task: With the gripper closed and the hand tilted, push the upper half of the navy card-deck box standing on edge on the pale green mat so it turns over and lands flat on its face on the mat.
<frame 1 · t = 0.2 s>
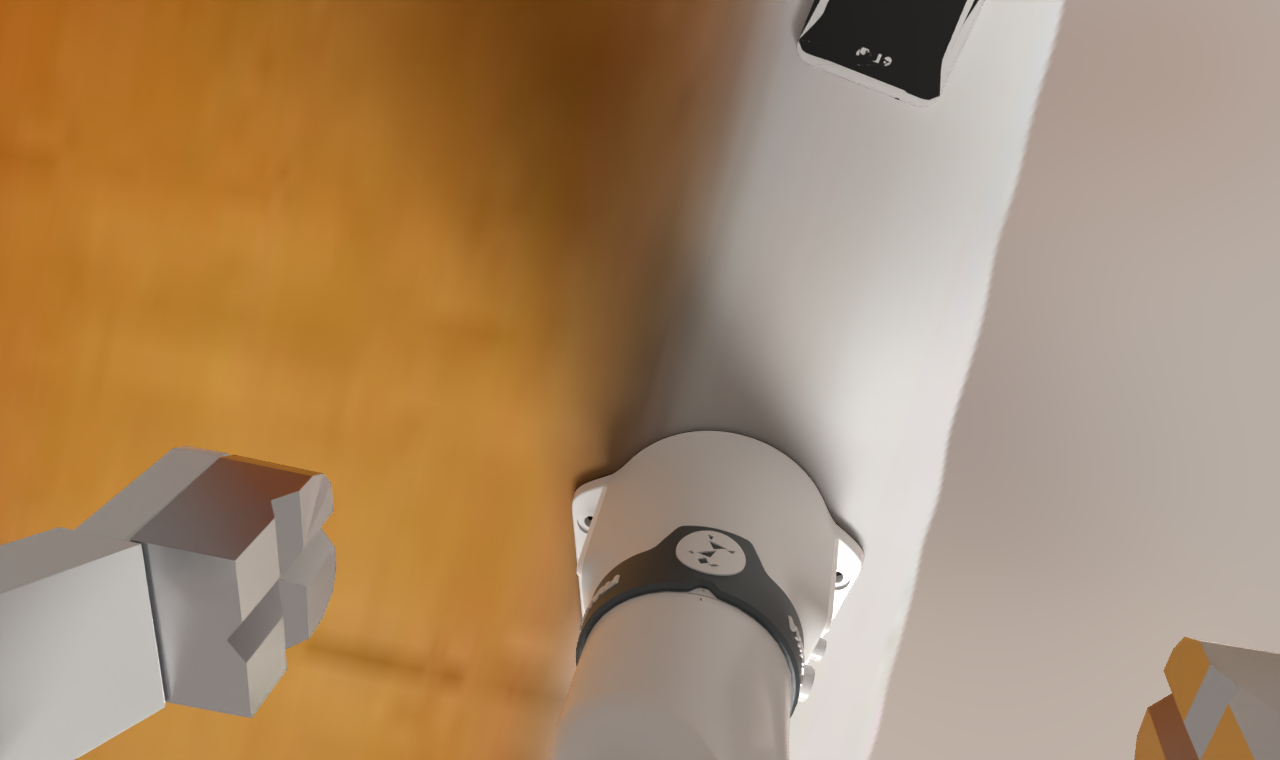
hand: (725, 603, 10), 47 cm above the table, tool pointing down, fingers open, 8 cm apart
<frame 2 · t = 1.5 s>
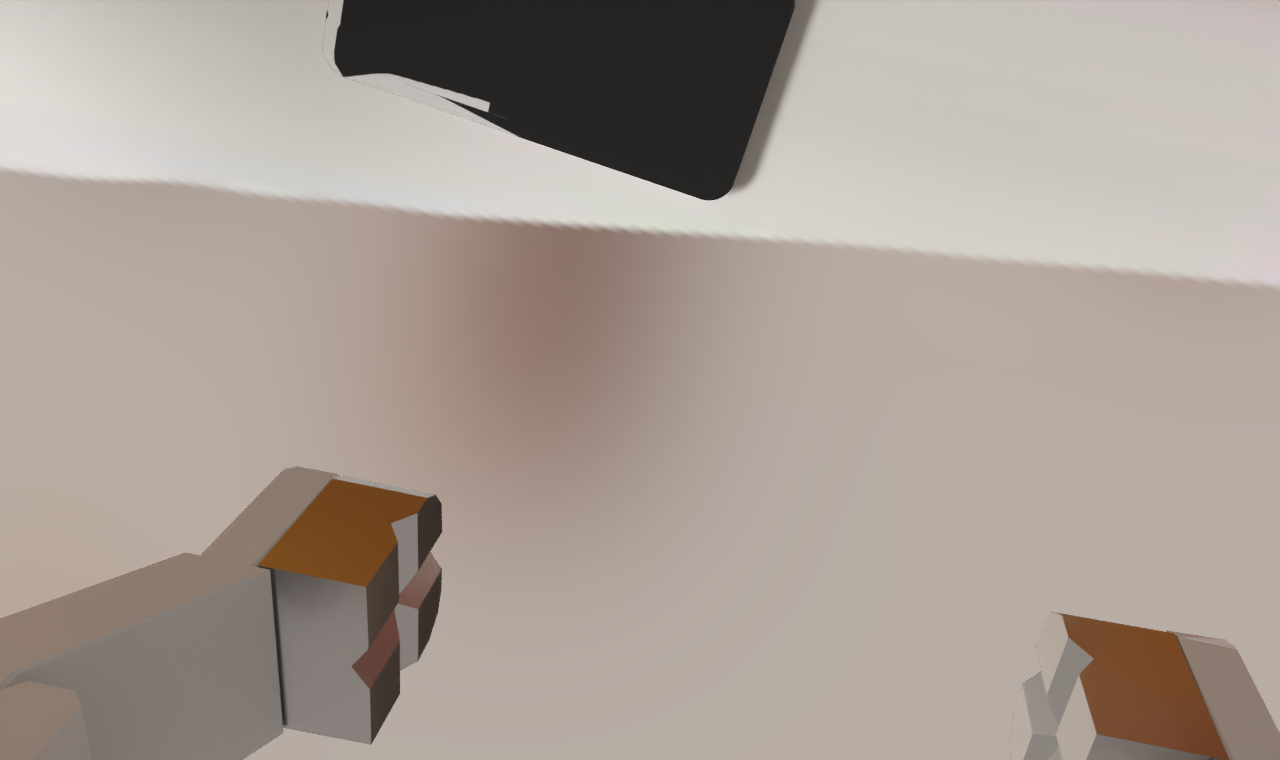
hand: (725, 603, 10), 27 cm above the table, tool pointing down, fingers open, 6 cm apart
smartphone: (558, 22, 35), on the table
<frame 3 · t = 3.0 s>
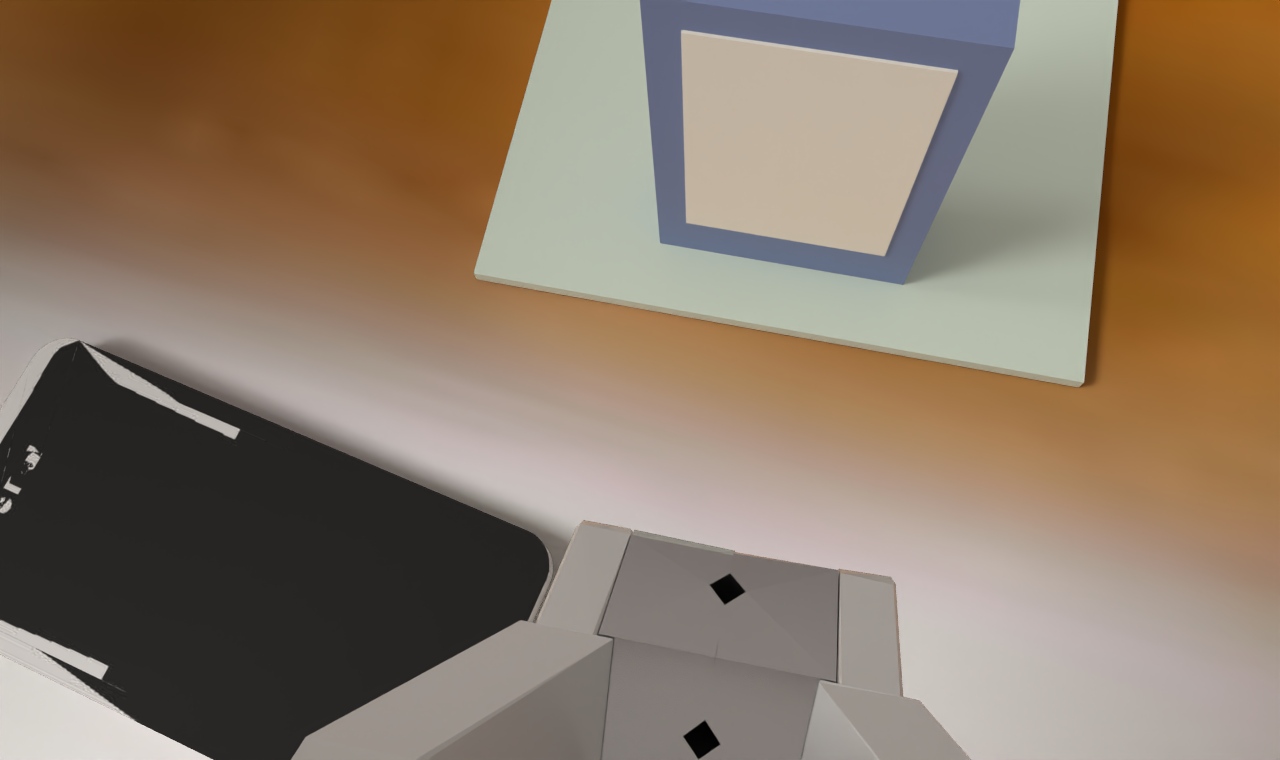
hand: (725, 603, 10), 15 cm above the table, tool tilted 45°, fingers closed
deck box: (787, 223, 28), resting on mat
mat: (812, 90, 29), on the table
smartphone: (244, 579, 27), on the table
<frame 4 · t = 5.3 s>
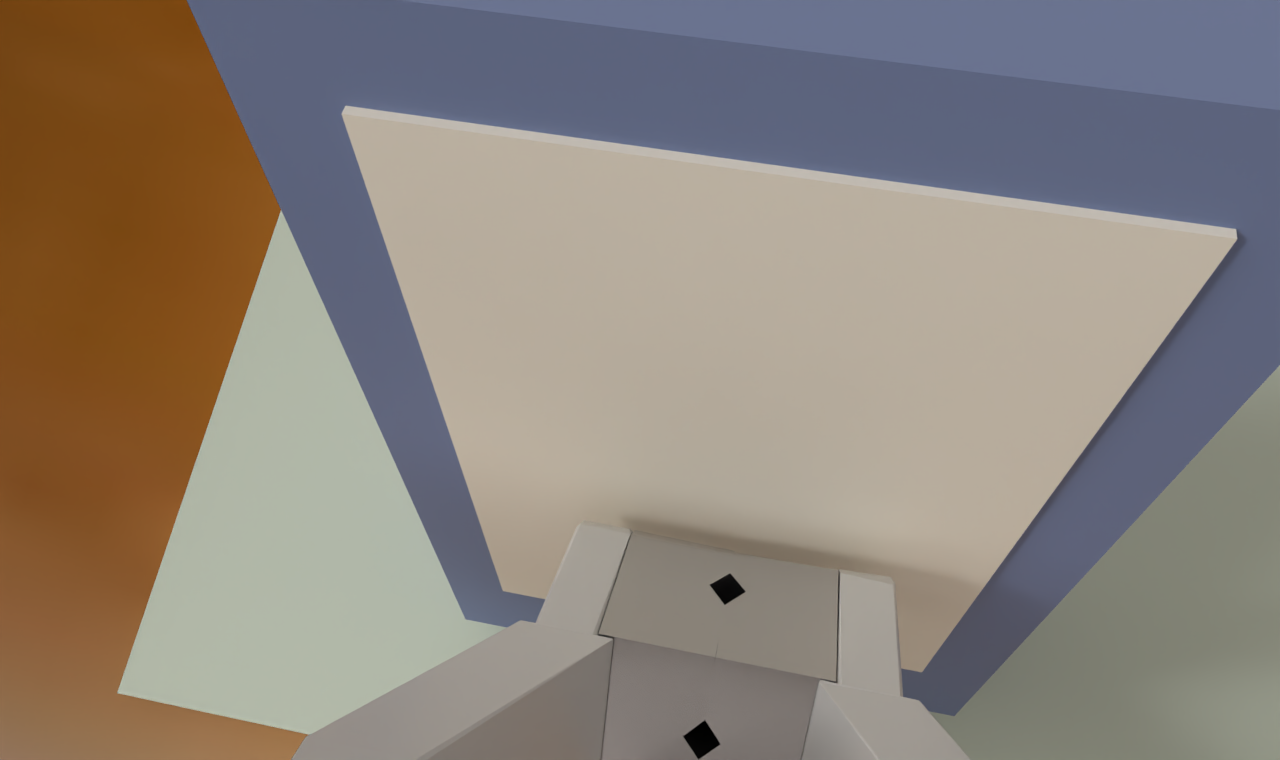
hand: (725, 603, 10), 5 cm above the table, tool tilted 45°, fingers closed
deck box: (717, 581, 14), point 1 cm above the table, tilted 14°, touching mat
mat: (765, 305, 16), on the table
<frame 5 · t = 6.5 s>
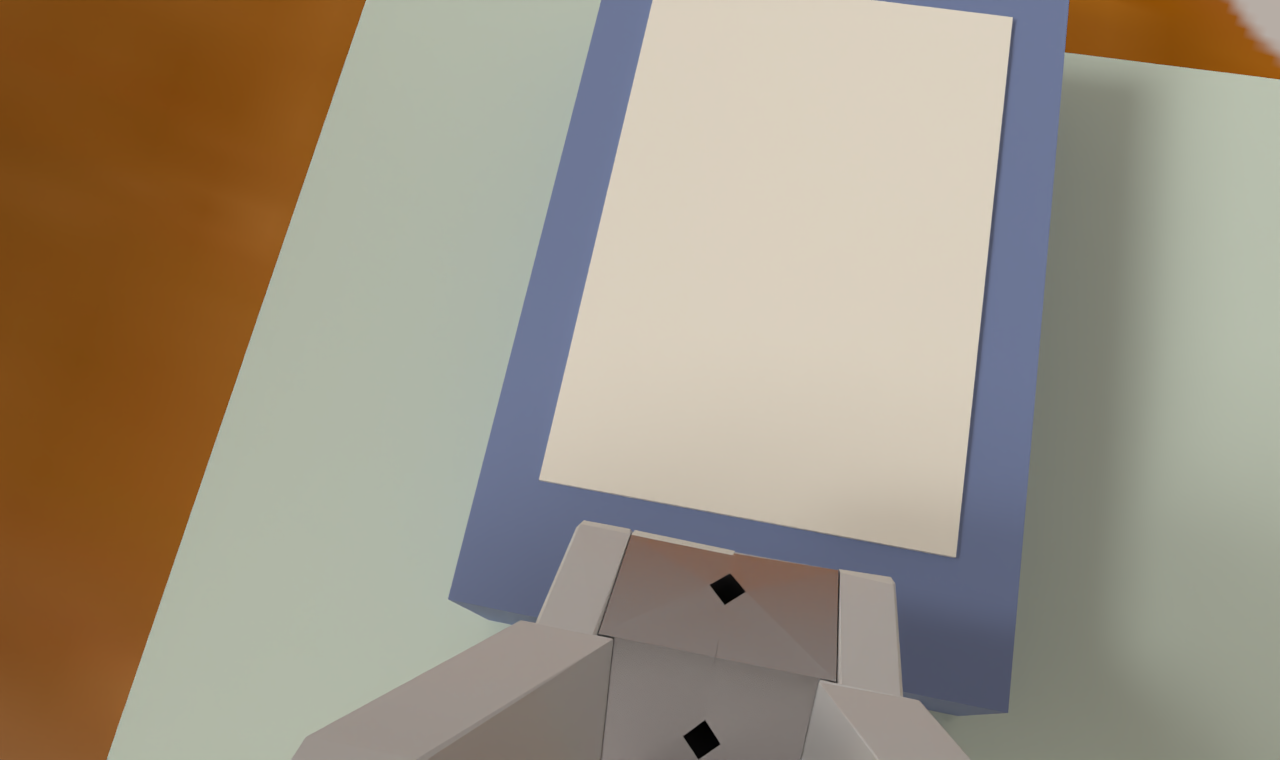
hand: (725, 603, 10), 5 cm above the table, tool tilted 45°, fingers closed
deck box: (717, 661, 13), point 2 cm above the table, tilted 90°, touching mat
mat: (753, 452, 15), on the table
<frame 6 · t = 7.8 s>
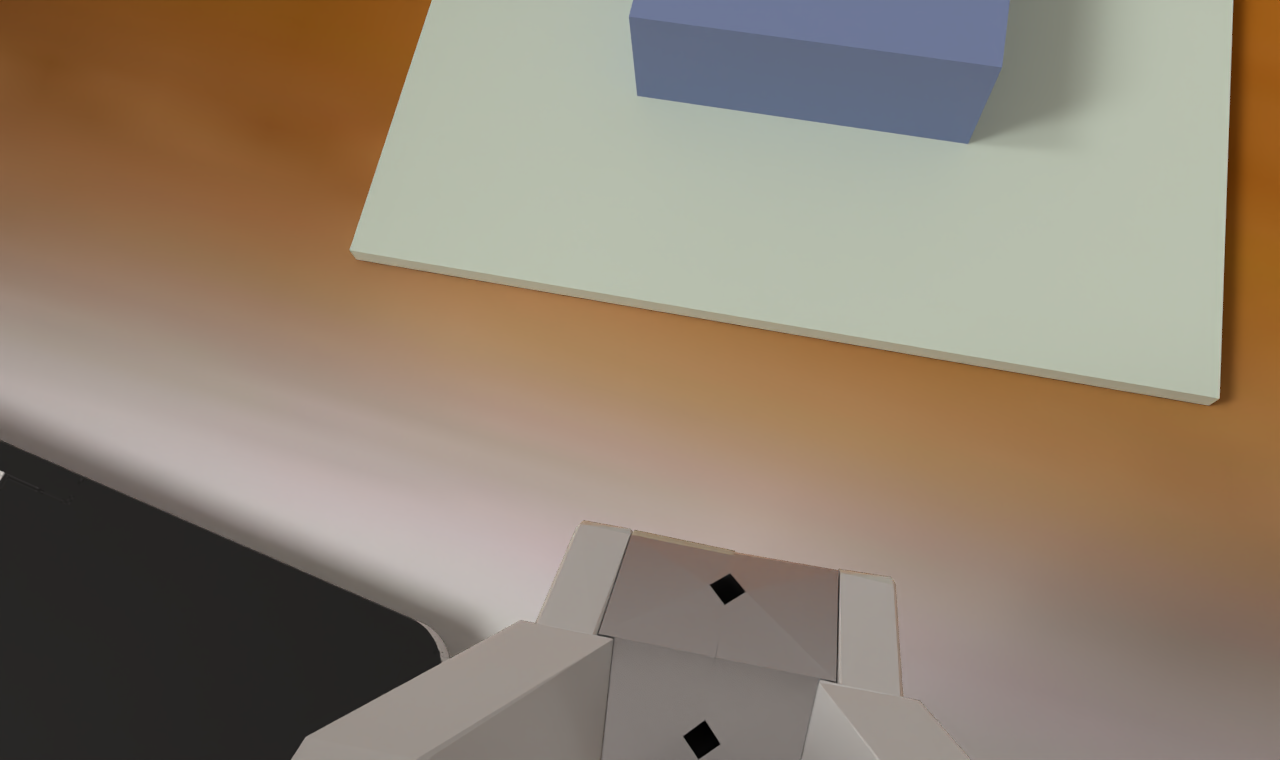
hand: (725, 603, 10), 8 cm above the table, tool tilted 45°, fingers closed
deck box: (804, 82, 19), point 2 cm above the table, tilted 90°, touching mat
mat: (821, 0, 21), on the table
smartphone: (15, 686, 19), on the table
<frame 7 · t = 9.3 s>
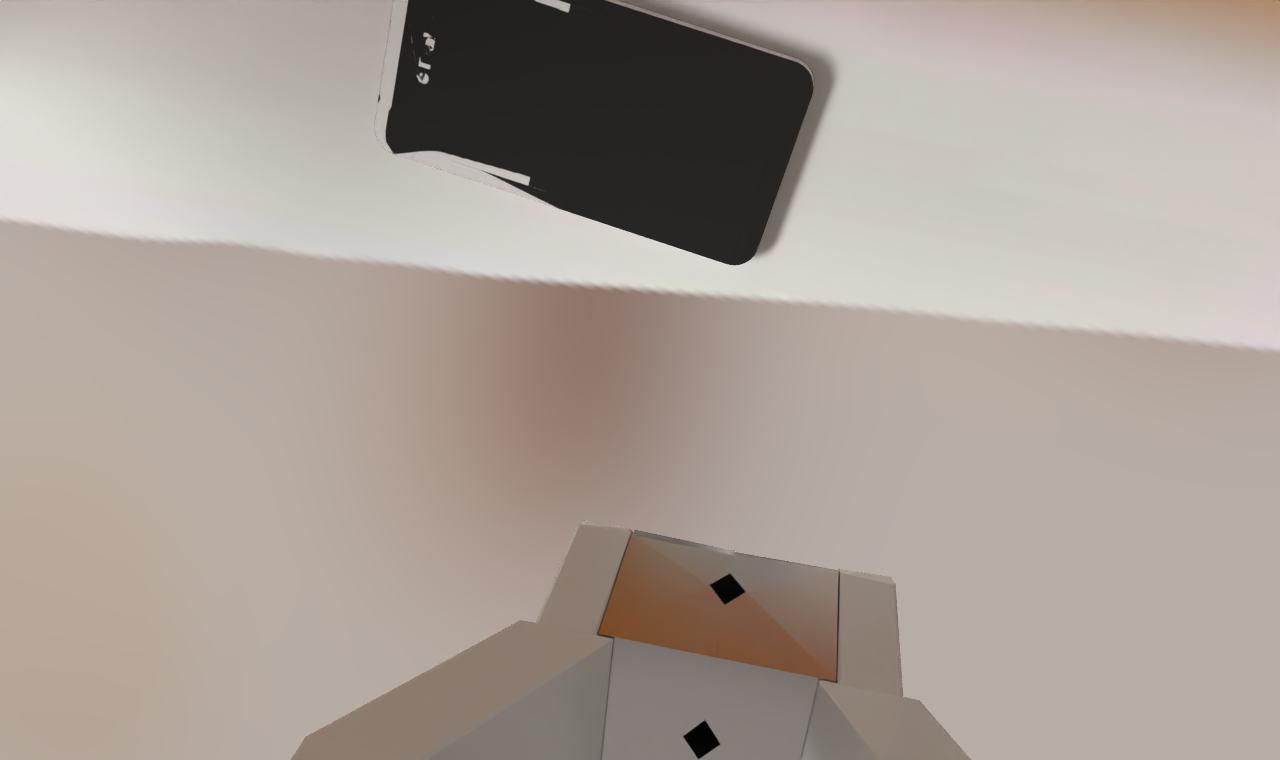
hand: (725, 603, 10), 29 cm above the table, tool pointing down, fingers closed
smartphone: (592, 102, 38), on the table
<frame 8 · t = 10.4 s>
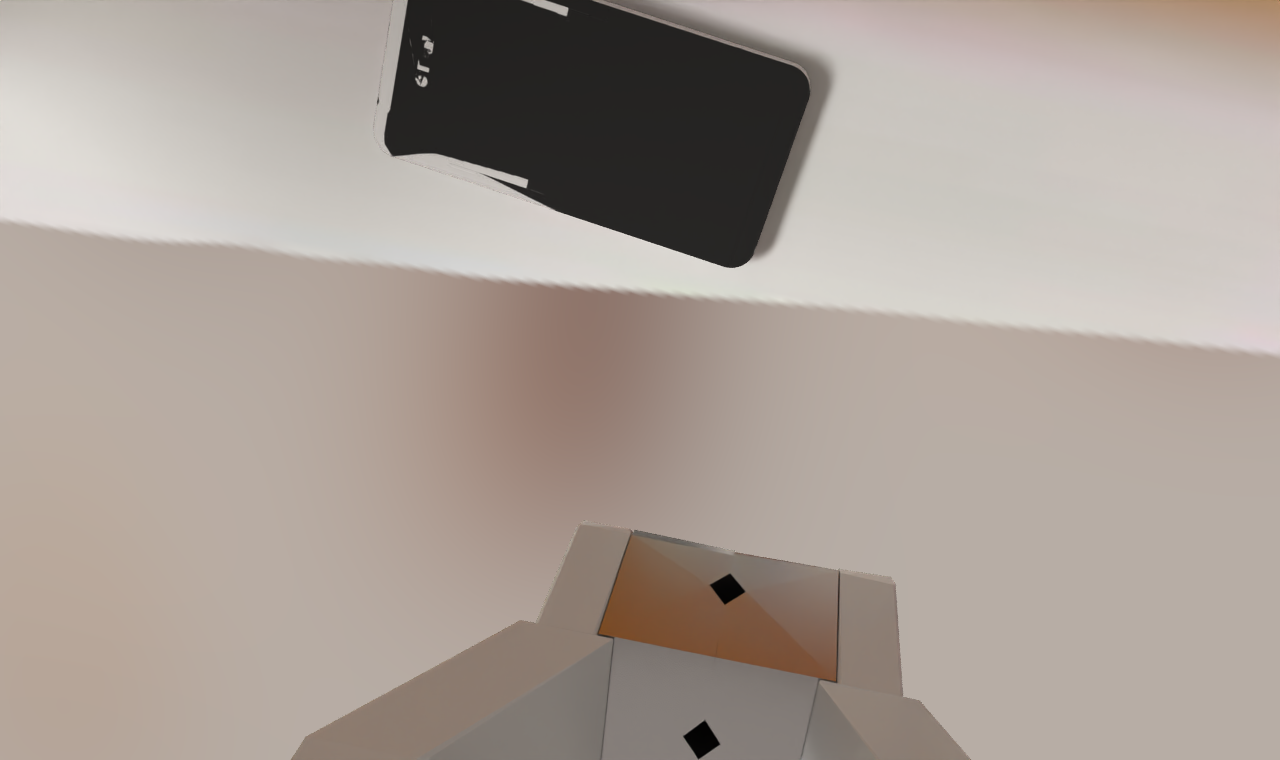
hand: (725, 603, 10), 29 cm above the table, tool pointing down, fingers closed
smartphone: (590, 105, 38), on the table
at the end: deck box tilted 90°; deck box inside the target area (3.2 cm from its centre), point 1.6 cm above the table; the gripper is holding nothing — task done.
